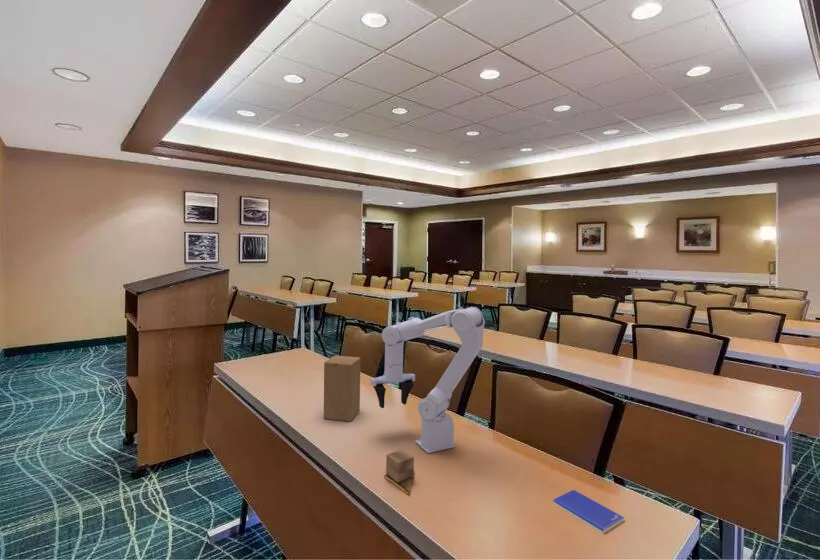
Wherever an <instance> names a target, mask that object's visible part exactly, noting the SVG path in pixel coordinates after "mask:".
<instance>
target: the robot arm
mask: <svg viewBox="0 0 820 560" xmlns="http://www.w3.org/2000/svg"><path fill="white" fill-rule="evenodd" d="M485 324H486V321H485V318H484V315H483V313H482V310H480V309H479V308H478V307H475V306H470V307H467V308H458V309H453V310H448V311H444V312H442V313H438V314H436V315H433V316H430V317H427V318H424V319H421V318H419V317H414V316H411V317H408V319H407V320H406V321H403V322H401V321H397V322H395V324H393V325H388V326H386V327H385V328H384V329H383V330H382V331H381V338H382V341H383V342H384V375H380V376H377V377H373V378H370V386H372V387H373V388H374V391H375V393H376V396H377V400H378V404H379V405H378V406H379V407H380V408H381V409H384V408H385V394H386V391H387V388H386V387H385V385H388V384H396V383H400V391H401V395H400V396H401V397H400V398H401V399H400V400H401V404H403V405H404V406H405V405H406V404H407V403H408V398H409V395H410V393H411V390H412V389H413V387H414V384H415V383H414V382H416V374H414V373H404V371H403V370H404V366H403V365H404V345H405V344H404V343H405V342H406V341H409V340H411V339H417V338H418V337H422V336H423V335H424V334H425V332H426V331H427V330H430V329H433V328H437V327H442V326H446V327H448V328H452V329H453V330H454V332H455V333H456V334H457V336H458V338H459V339H460V343H461V346H460V348H459V350H458V351H457V353H456V354H455V356H454V357H453V358H452V361H450V362H449V365H448V366H447V368H446V370H445V371H444V373H443V374H442V376H441V377H440V379H439V380H438V382H437V383H436V385H435V387H434V388H433V389H432V390H431V391H429V393H428V394H427V395H426V397H425V398H422V399H420V401H419V402H418V404H417V410H418V414H419V416H420V417H421V425H420V429H421V430H420V432H421V433H420V439H415V443H416V444H417V445H418V446H419V447H420V448H421V449H423V450H424V452H426V453H427V454H431V453H435V452H439V451H444V450H448V449H452V448H455V447H456V445H455V444H454V443H455V441H454V439H455V437H454V435H455V424H454V420H453V417H452V415H450V414H449V413H446V410H447V409H448V408H449V407H450V401H451V399H452V396H453V392H454V390H455V388H456V387H457V386H458V384H459V383H460V381H461V380H462V378H463V377H464V375H465V373H467V370H468V369H469V367H470V366H471V365H472V363H473V362H474V360H475V358H476V357H477V356H478V354H479V352H480V351H481V349H482V347H483V344H484V342H483V341H484V328H485Z"/></svg>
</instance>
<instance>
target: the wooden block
mask: <svg viewBox="0 0 820 560" xmlns="http://www.w3.org/2000/svg"><path fill="white" fill-rule="evenodd" d="M323 370H324V371H323V419H324V420H332V421H341V422H342V421H343V422H348V423H349V422H352V420H353V419H354V418H355V417H356V415H358V414H359V412H360V410H361V409H360V408H361V406H360V405H361V357H359V356H346V355H334V356H332V357H331V358H329V359H327V360H325V361H324V362H323Z"/></svg>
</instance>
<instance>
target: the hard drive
mask: <svg viewBox="0 0 820 560" xmlns="http://www.w3.org/2000/svg"><path fill="white" fill-rule="evenodd" d="M552 503H553V505H555V506H556V507H558V508H560V509H561V510H563V511H565V512H566V513H568V514H570V515H571V516H572V517H574V518H576V519H577V520H579V521H581V522H582V523H584V524H586V525H587V526H589V527H590V528H592V529H595V530H596V531H597V532H599V533H601V534H605V533H607V532H608V531H610V530H612V529H613V528H615V527H616V526H619V525H620V524H622V523H623V522H624V521H625V516H622V515H621V514H619V513H617V512H615V511H614V510H612V509H610V508H609V507H608V508H607V507H606V506H604V505H603V504H600V503H599V502H597V501H595V500H594V499H592V498H589V497H588V496H587V495H584V494H582V493H581V492H578V491H576V489H572V490H570V491H568V492H566V493H564V494H562V495H559V496H558V497H555V498H554V499H553V502H552Z"/></svg>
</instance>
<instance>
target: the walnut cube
mask: <svg viewBox="0 0 820 560" xmlns="http://www.w3.org/2000/svg"><path fill="white" fill-rule="evenodd" d="M385 459H386V466H385V474H387V475H389V476H390V477H391V478H393V479H394V480H395V481H396V482H400V481H403V480H405V479H408V478H410V477H412V476H414V477H415V472H414V471H415V470H414V468H415V457H414V456H413V455H412V454H410V453H409V452H407V451H405V450H404V449H403V448H402V449H399V450H396V451H392V452H390V453H389V454H388V453H387V454H386V457H385Z"/></svg>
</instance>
